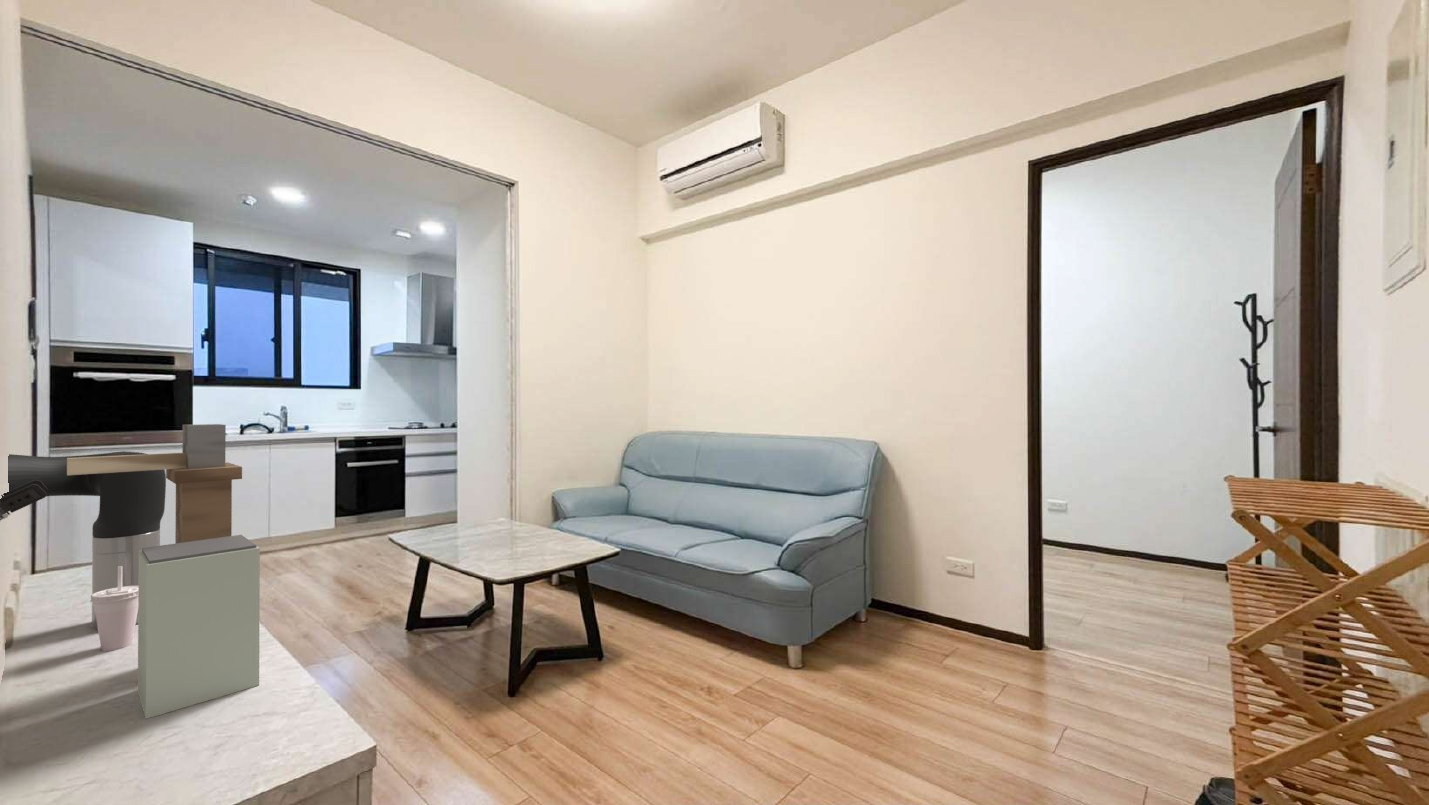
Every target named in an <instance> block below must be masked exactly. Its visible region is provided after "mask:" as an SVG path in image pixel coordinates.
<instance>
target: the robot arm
mask: <svg viewBox="0 0 1429 805" xmlns="http://www.w3.org/2000/svg"><path fill="white" fill-rule="evenodd" d="M145 454H146V453H145V452H138V451H137V452H136V451H113V452H105V453H103V452H102V453H96V454H95V453H92V454H83V455H82V454H81V455H80V454H79V455H69V456H67V455H66V456H37V455H25V454H24V455H23V454H12V453H10V454H9V456H8V483H9V492H7V493H4V494H3V495H4V496H3V495H2V494H1V496H2V498H1V499H0V521H2V520H5V519H7V518H8V516H10V515H11V513H12V514H13V513H15V512H17V511H19V510H21V509H24V508H25V507H28V506H30V505H32V504H34V503H36V502H38V501H41V500H43V499H45V498H46V497H58V496H59V497H61V496H62V497H63V496H64V497H65V496H66V497H68V496H69V497H70V496H71V497H72V496H85V497H86V496H87V497H88V496H89V497H95V496H96V497H99V508H98V509H99V511H98V515H97V518H96V520H95V521H94V522H93V524H92V540H91V541H92V544H91V545H92V547H91V548H92V553H91V554H92V559H91V560H92V564H91V566H92V567H91V568H92V570H91V571H92V574H91V578H92V580H91V595H92V594H94V593H96V592H99V591H103V590H107V589H112V588H117V587H118V567H119V566H122V587H124V586H139V551H140V550H142V548H147V547H154V546H161V521H162V519H163V516H164V513H165V506H166V493H167V492H166V489H167V488H166V487H167V478H166V469H163V470H147V471H131V472H115V473H98V474H82V475H67V458H80V457H101V456H123V455H145ZM135 625H138V613H137V619H136V624H135ZM91 628H92V629H96V630H98V626H97V621H96V615H95V610H94V603H93V602H91Z"/></svg>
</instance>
